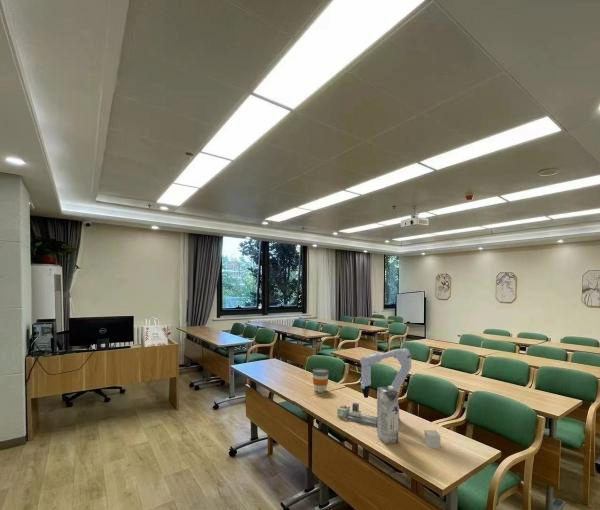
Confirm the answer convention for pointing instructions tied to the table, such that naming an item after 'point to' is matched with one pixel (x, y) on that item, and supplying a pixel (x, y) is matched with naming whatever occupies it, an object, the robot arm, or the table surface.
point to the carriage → (355, 409)
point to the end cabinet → (343, 411)
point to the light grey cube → (432, 438)
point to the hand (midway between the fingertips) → (366, 397)
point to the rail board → (363, 419)
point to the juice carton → (387, 414)
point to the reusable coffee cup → (320, 379)
